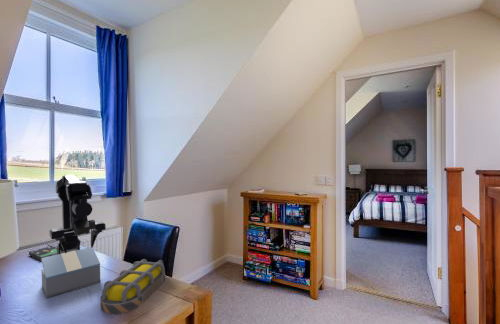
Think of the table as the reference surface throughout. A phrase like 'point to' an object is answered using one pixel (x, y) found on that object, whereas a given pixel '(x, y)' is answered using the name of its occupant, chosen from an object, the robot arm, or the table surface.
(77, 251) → the lid
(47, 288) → the storage box
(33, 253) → the disk drive
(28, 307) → the table surface
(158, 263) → the cage light
